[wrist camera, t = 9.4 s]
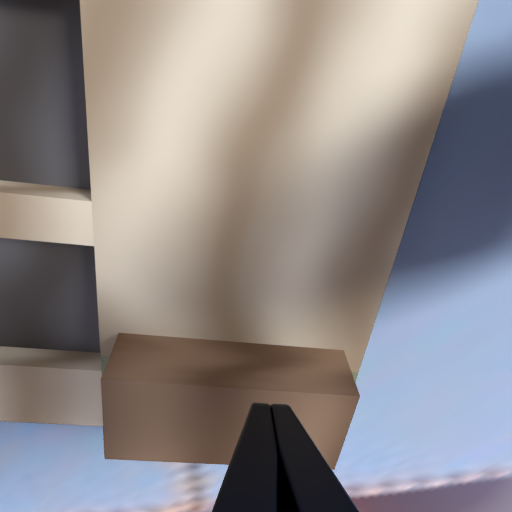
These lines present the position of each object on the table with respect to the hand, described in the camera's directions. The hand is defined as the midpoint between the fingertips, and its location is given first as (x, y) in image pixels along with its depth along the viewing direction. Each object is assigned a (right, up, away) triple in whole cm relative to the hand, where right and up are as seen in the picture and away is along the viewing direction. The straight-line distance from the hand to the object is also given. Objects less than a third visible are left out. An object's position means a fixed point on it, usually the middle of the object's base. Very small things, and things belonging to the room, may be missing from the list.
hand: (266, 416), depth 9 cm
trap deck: (-4, +4, +10) cm, 12 cm away
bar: (-2, -3, +12) cm, 12 cm away
